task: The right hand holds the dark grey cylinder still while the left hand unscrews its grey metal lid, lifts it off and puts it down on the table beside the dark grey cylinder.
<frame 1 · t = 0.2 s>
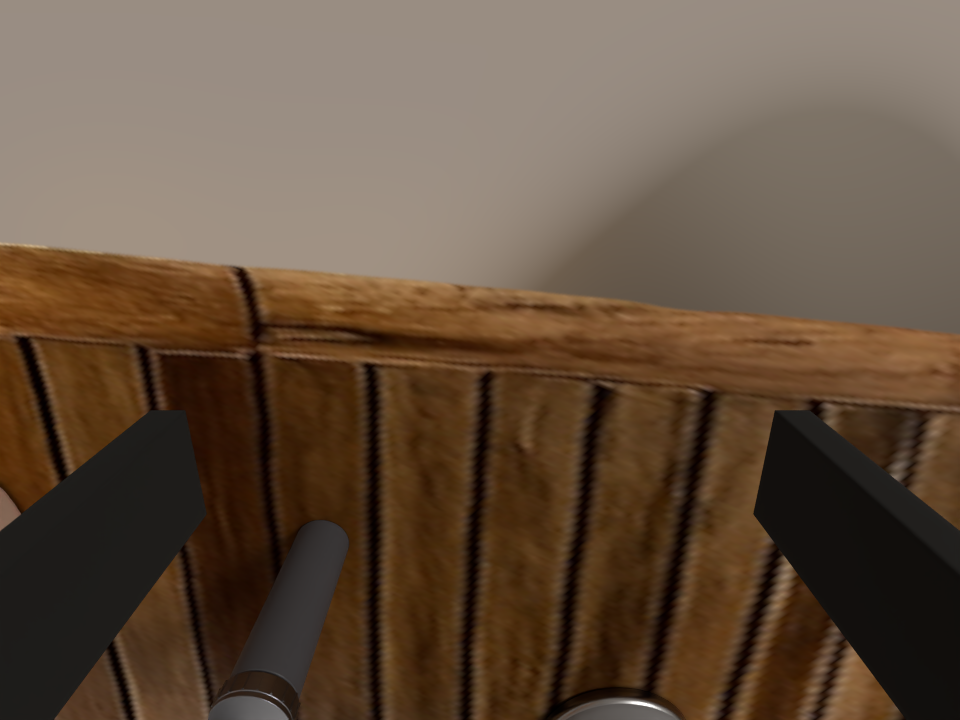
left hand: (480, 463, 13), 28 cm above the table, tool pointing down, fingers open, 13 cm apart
dark grey cylinder: (323, 541, 48), on the table
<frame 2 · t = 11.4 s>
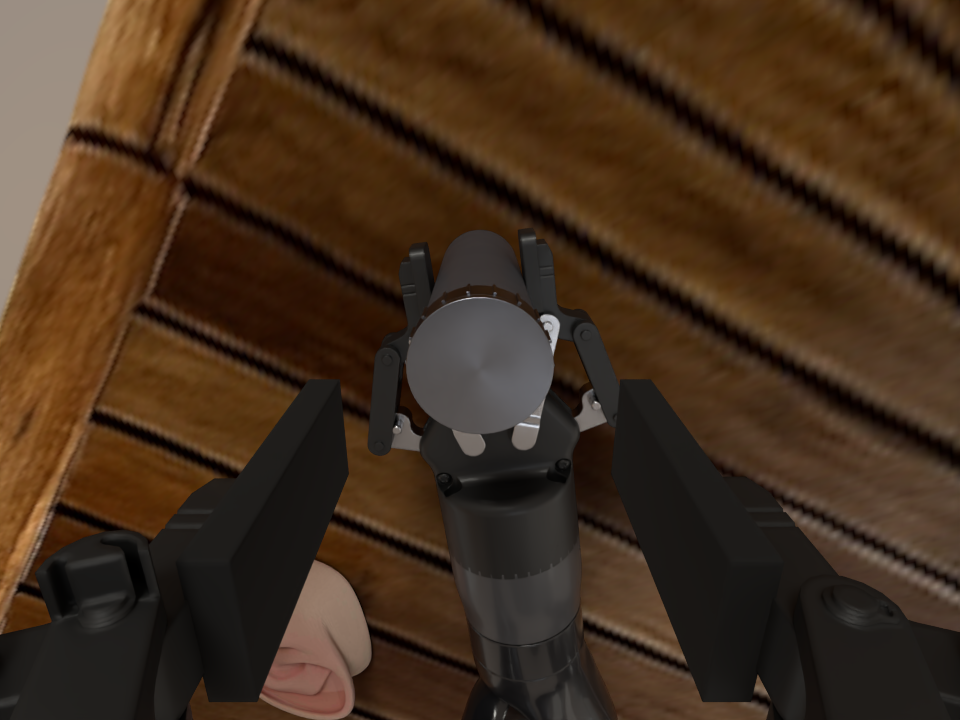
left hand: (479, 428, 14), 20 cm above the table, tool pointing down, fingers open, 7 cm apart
right hand: (471, 239, 26), fingers closed on dark grey cylinder, 4 cm apart
dark grey cylinder: (479, 267, 33), on the table, touching right hand
anatomical model: (294, 615, 43), on the table
lid: (479, 365, 18), point 16 cm above the table, screwed on, not yet turned
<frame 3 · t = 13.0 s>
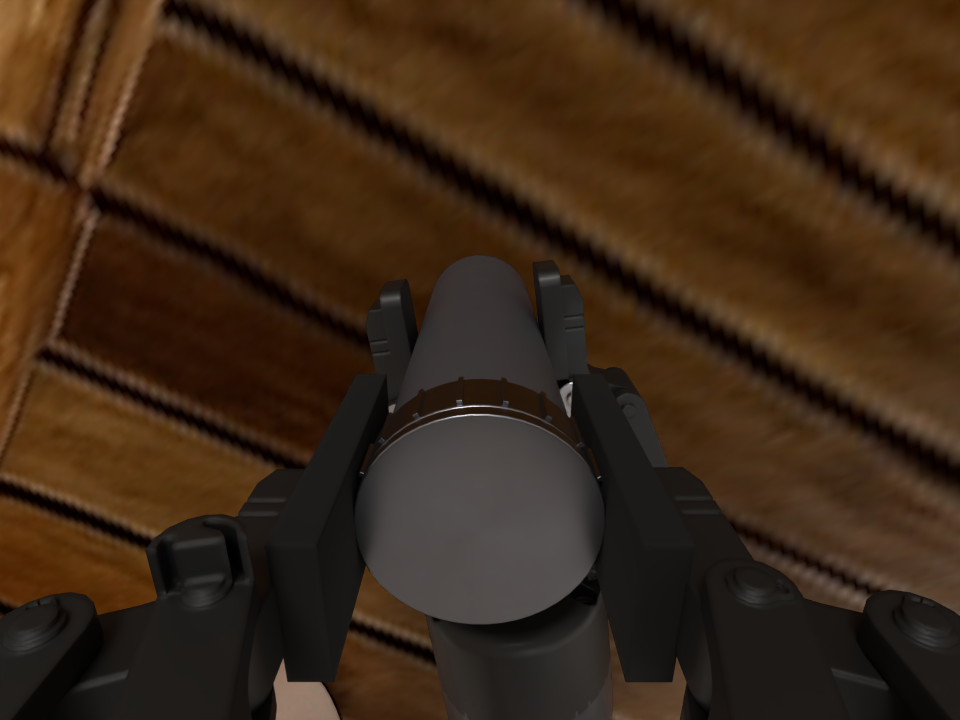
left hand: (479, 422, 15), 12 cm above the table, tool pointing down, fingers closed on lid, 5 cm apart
dark grey cylinder: (480, 303, 26), on the table, touching right hand
anatomical model: (254, 715, 35), on the table
lid: (479, 516, 11), point 16 cm above the table, screwed on, not yet turned, touching left hand
when the left hand's fingers open (12 cm above the table, at t = 14.0 s): lid stays where it is, point 16 cm above the table.
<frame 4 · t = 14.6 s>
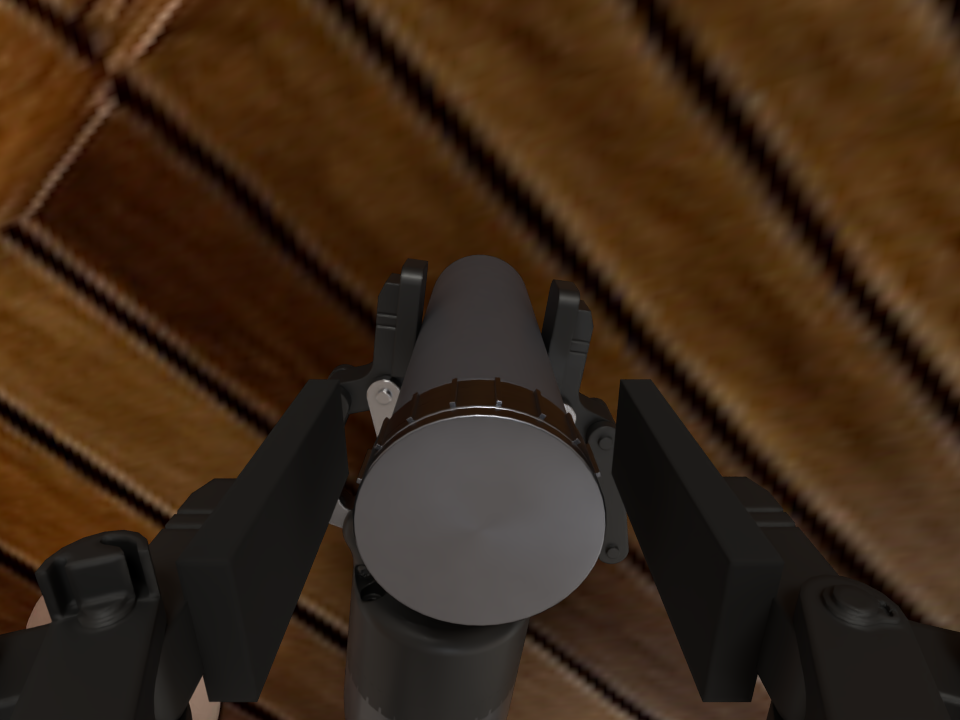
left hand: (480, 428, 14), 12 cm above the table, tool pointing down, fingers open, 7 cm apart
dark grey cylinder: (479, 302, 26), on the table, touching right hand
anatomical model: (130, 655, 34), on the table
lid: (479, 517, 11), point 16 cm above the table, turned 59° so far, risen 0.1 cm, still on its thread
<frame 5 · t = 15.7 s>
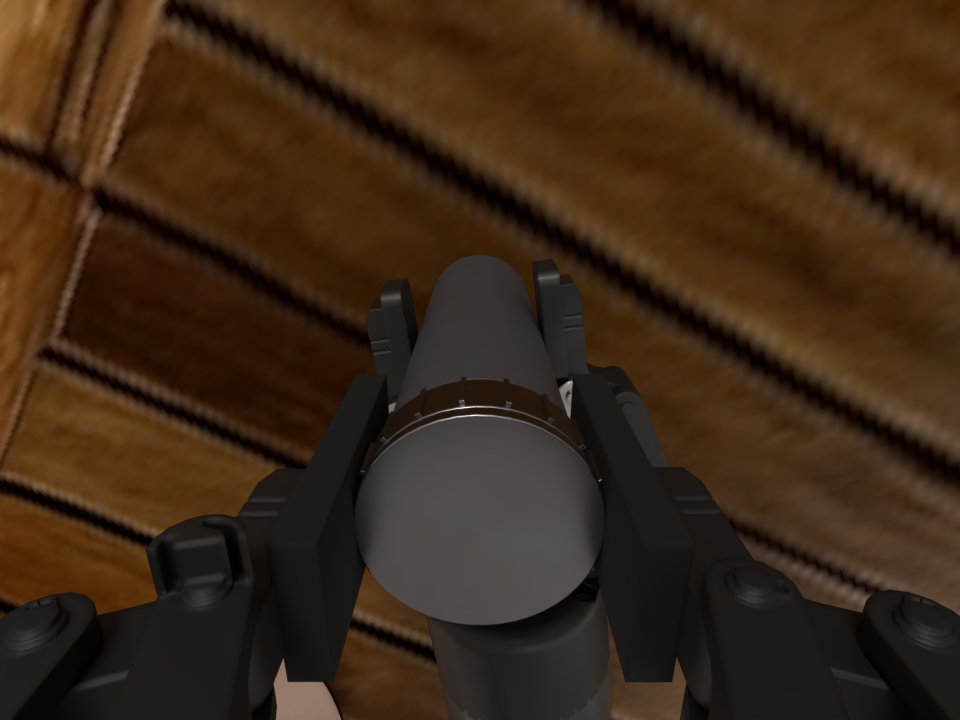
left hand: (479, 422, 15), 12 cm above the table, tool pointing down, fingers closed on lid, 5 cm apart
dark grey cylinder: (480, 302, 26), on the table, touching right hand
anatomical model: (255, 713, 35), on the table
lid: (479, 517, 11), point 16 cm above the table, turned 59° so far, risen 0.1 cm, still on its thread, touching left hand
when the left hand's fingers open (0 cm above the table, at t = 22.8 s): lid drops 3 cm, point 1 cm above the table.
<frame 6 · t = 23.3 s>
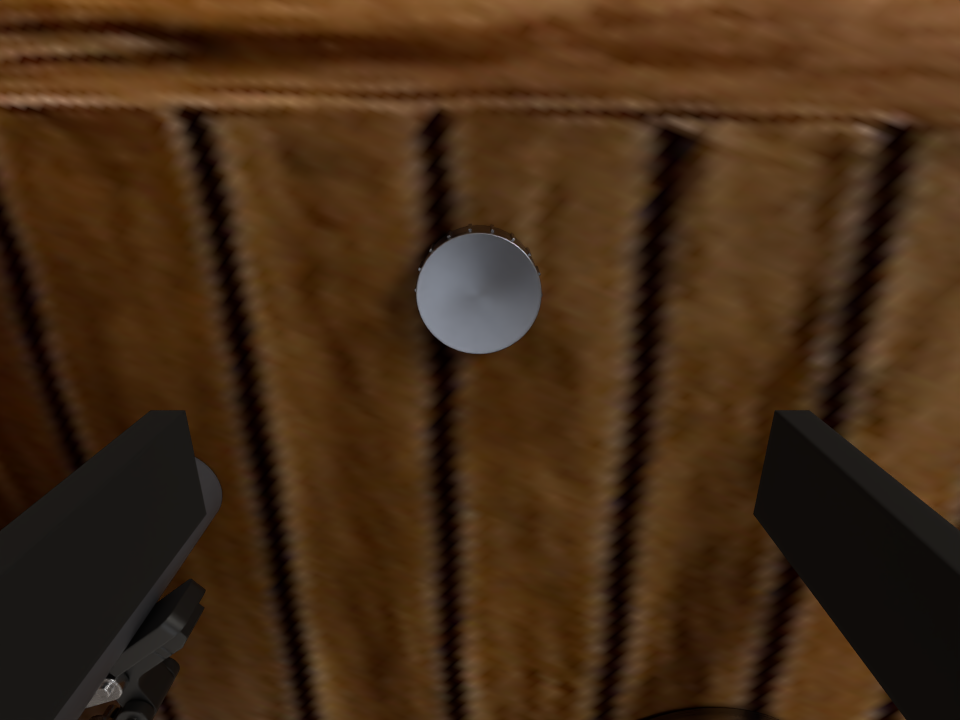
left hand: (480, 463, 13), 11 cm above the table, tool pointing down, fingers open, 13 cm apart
dark grey cylinder: (175, 488, 27), on the table, touching right hand
lid: (478, 293, 22), point 1 cm above the table, off its thread
when the right hand's fingers open (7 cm above the table, at t = 23.4 s): dark grey cylinder stays where it is, on the table.
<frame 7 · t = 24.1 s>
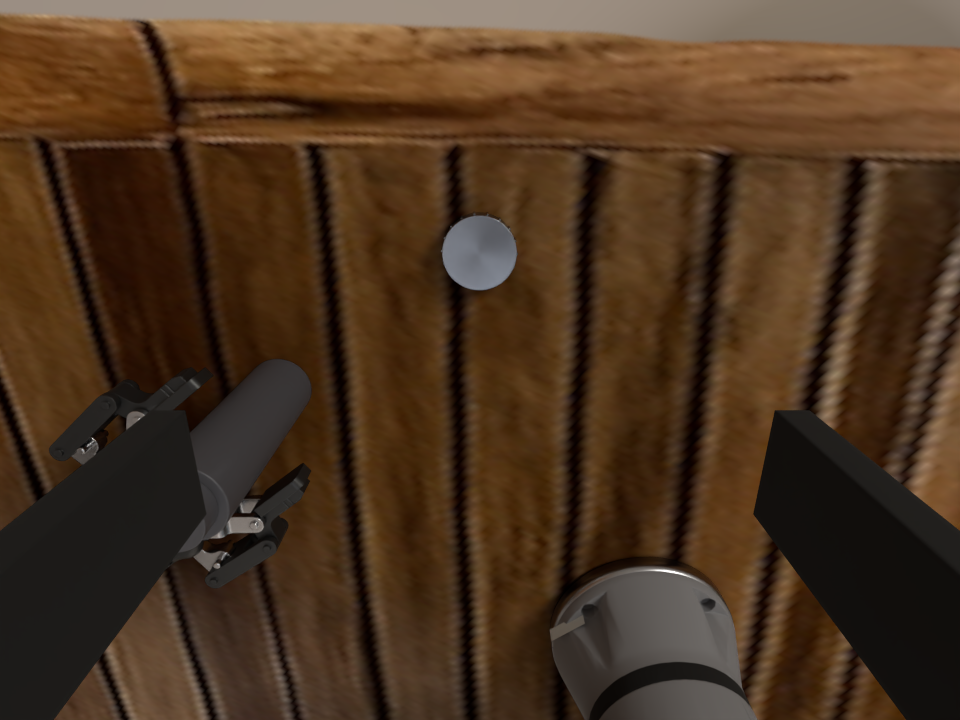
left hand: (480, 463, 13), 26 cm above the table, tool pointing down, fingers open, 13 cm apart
dark grey cylinder: (281, 387, 41), on the table
lid: (479, 252, 36), point 1 cm above the table, off its thread
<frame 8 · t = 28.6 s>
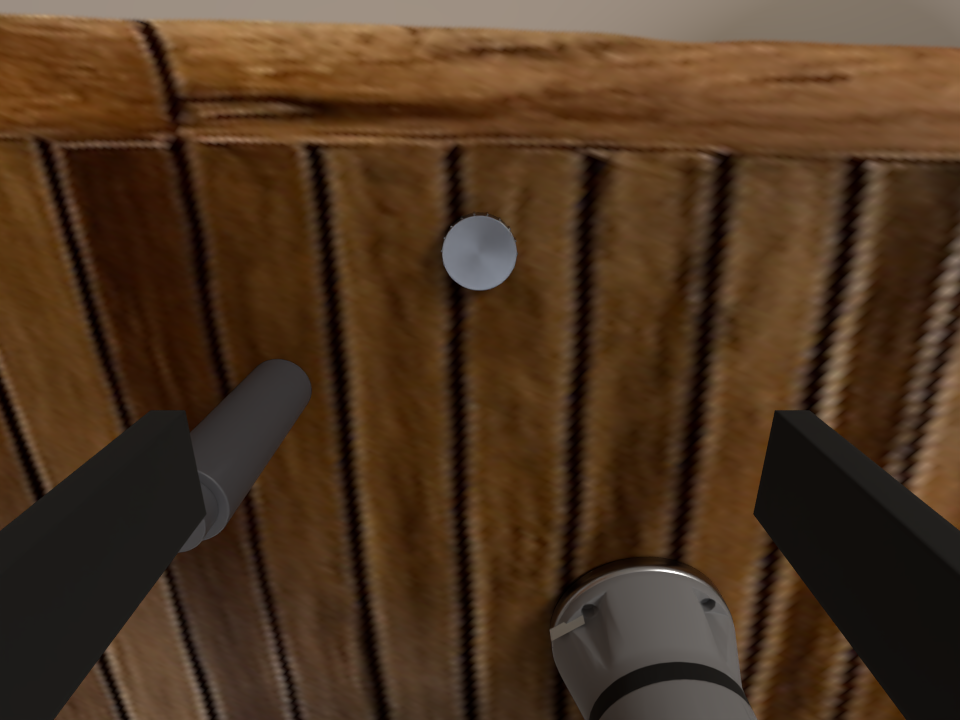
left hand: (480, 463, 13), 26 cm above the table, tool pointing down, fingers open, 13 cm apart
dark grey cylinder: (281, 387, 41), on the table
lid: (479, 252, 36), point 1 cm above the table, off its thread
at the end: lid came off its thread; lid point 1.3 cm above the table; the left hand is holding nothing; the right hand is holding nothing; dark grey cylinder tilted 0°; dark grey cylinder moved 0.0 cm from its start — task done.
